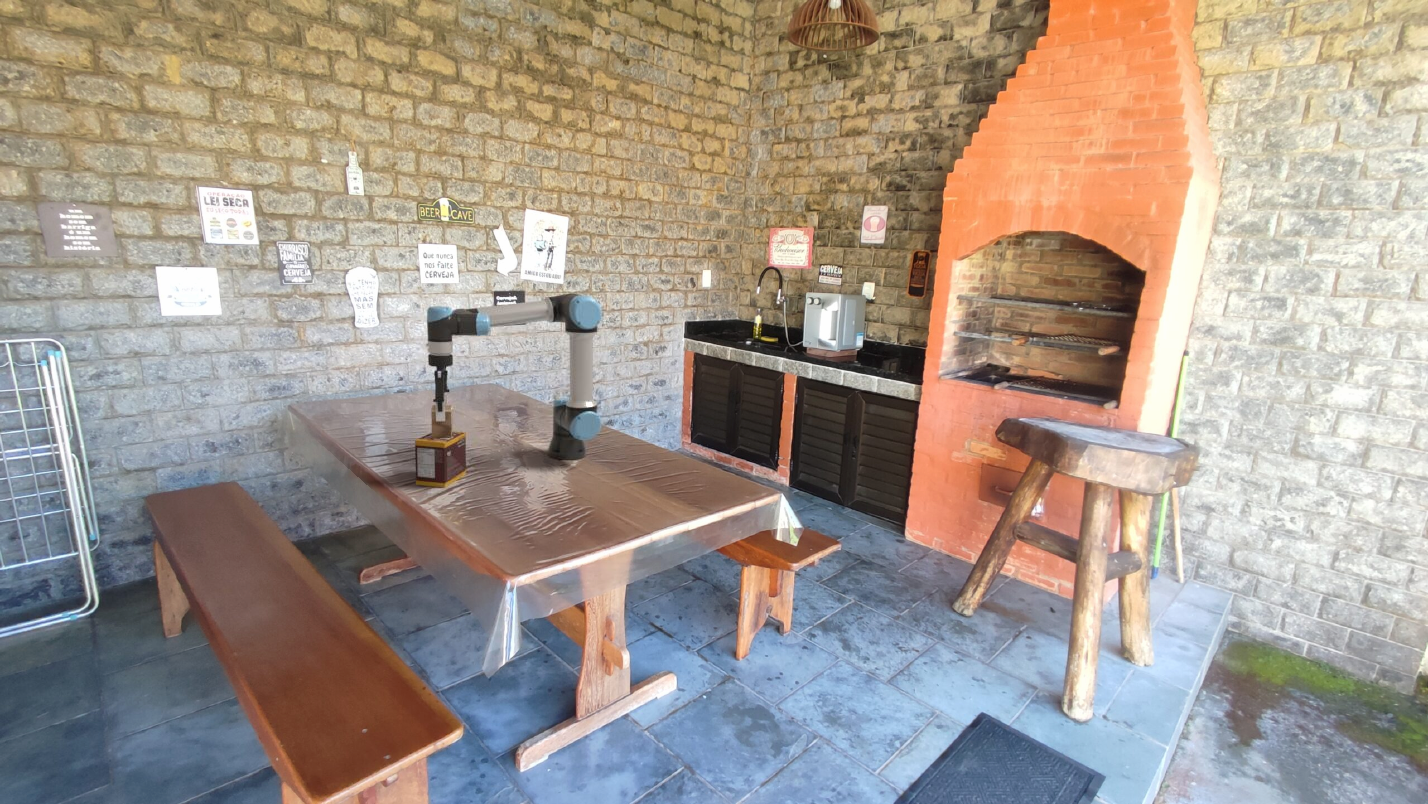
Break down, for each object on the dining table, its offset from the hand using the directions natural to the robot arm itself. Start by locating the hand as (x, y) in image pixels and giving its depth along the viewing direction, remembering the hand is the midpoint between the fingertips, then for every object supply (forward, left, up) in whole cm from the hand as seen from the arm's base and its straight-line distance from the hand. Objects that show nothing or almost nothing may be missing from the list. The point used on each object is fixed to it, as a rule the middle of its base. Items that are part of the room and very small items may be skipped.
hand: (442, 416), depth 221 cm
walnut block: (0, 0, -7) cm, 7 cm away
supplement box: (0, 0, -23) cm, 23 cm away
